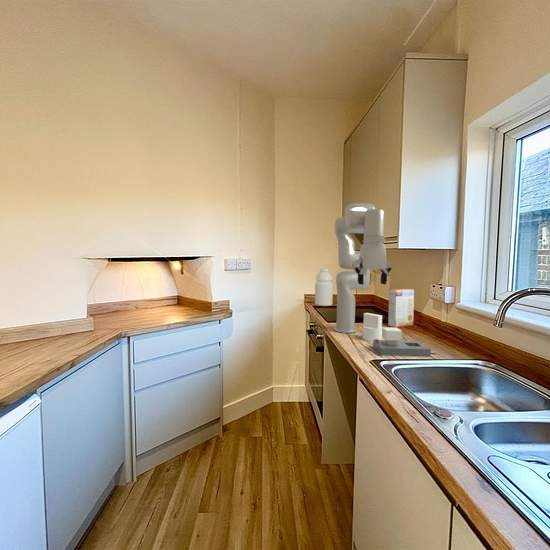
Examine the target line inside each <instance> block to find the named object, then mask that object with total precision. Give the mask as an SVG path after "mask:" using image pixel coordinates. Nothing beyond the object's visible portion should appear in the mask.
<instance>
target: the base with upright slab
mask: <svg viewBox="0 0 550 550" xmlns="http://www.w3.org/2000/svg"><path fill="white" fill-rule="evenodd" d="M382 327H383V315H381V314H375V313H369V312H363V325H362V340H364V339H365V340H364V341H367V340H368V342H373V340H374V339H379V340H383V337H382Z"/></svg>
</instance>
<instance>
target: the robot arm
mask: <svg viewBox="0 0 550 550" xmlns="http://www.w3.org/2000/svg"><path fill="white" fill-rule="evenodd" d="M334 233H335V236H336V239H337V243H338V244H337V245H338V250H337V251H338V254H337V255H338V266H339V267H340V268H341V269H344V270H345V269H346V270H347V271H340V272H338V273H337V274H336V276H335V285H336V325H335V326H334V327H333V329H334V330H335V332H336V331H337V333H341V332H342V333H343V334H353V333H354V332H355V333H357V332H358V328H357V327H355V324H356V322H355V321H356V296H355V294H354V293H353V292H352V291H353V290H354V291H355V290H362V291H363V290H367V289H369V287H370V283H371V280H370V279H371V274H370V273H371V271H373V270H374V271H377V270H378V271H380V272H381V274H380V284H381V285H387V282H388V275H389V273H390V272H391V271H392V269H393V267H394V264H395V263H394V262H392V261H390V260H388V259H387V251H386V250H387V249H386V245H385V244H384V243H385V242H387V238H385V235H384V234H385V211H384V210H383V209H381V208H376V207H375V205H374V204H373V203H362V202H361V203H359V202H357V203H356V202H355V203H350V204H348V205H347V206H346V207H345V209H344V216H341V217H337V218H336V219H335V221H334ZM350 234H363V244H361V245H360V249H359V250H356V248H355V247H356V244H355V240H354V239H353V237H352V236H351V235H350ZM387 265H388V266H387ZM348 270H349V271H348ZM350 270H351V271H350ZM370 270H371V271H370ZM333 329H332V330H333ZM334 330H333V331H334Z"/></svg>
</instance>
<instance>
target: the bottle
mask: <svg viewBox="0 0 550 550" xmlns="http://www.w3.org/2000/svg"><path fill="white" fill-rule="evenodd" d="M329 270H330V269H329V268H320V270H319V271H320V272H318V273H317V275H316V278H315V280H316V282H315V283H314V305H316V306H319V307H320V306H322V307H326V306H327V307H328V306H333V300H334V299H333V297H334V296H333V295H334V294H333V292H334V283H333V279H334V278H333V276H332V274H331V273H330V271H329Z"/></svg>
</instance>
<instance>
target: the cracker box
mask: <svg viewBox="0 0 550 550" xmlns="http://www.w3.org/2000/svg"><path fill="white" fill-rule="evenodd" d="M414 304H415V289H412V288H400V289H399V288H398V289H389V290H388V318H387V319H388V320H387V321H388V327H394V328H402V327H409V326H414V309H415V307H414V306H415V305H414Z"/></svg>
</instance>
